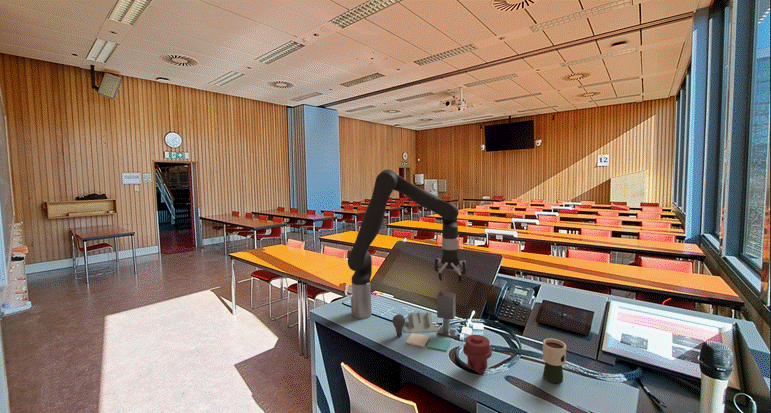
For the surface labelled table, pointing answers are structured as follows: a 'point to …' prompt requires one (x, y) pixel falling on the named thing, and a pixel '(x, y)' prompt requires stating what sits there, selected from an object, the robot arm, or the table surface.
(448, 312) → the control housing
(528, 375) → the table surface
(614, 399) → the table surface
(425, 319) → the metal bracket
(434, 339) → the teal pad
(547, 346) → the character mug
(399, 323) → the light bulb
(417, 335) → the cream pad
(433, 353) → the table surface
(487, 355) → the mechanical component
